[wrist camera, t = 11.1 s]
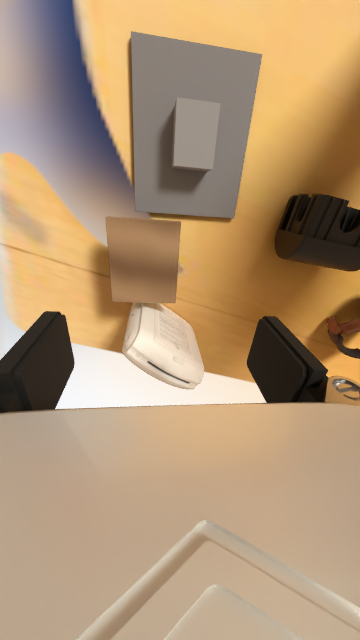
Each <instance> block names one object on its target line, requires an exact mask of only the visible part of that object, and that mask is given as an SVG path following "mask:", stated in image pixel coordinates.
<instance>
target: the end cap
mask: <svg viewBox="0 0 360 640" xmlns="http://www.w3.org/2000/svg"><path fill="white" fill-rule="evenodd" d="M308 196H309V195H307V194H299V195H293V196H292V197H291V198H290V199H289V201H288V204H287V207H286V209H285V212H284V215H283V217H282V220H281V223H280V225H279V228H278V230H277V233H276V237H275V251H276V254H277V255H278V256H279V257H280V258H282V259H287V260H292V261H297V262H302V263H307V264H312V265H318V266H323V267H328V268H333V269H338V270H343V271H357V270H360V210H357V209H354V208H350V207H347V205H348V203H349V201H347V200H344V199H340V198H336V197H333V196H329V195H323V194H313V195H312V197H308Z"/></svg>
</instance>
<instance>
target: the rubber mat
mask: <svg viewBox="0 0 360 640" xmlns="http://www.w3.org/2000/svg"><path fill="white" fill-rule="evenodd" d="M131 54H132V96H133V139H134V181H135V211H137V212H152V213H166V214H180V215H194V216H208V217H223V218H234V216H235V210H236V204H237V198H238V192H239V186H240V181H241V175H242V169H243V163H244V157H245V151H246V146H247V140H248V134H249V128H250V122H251V116H252V111H253V105H254V99H255V93H256V87H257V81H258V76H259V70H260V64H261V58H262V54H257V53H251V52H246V51H240V50H234V49H228V48H223V47H217V46H211V45H206V44H200V43H194V42H189V41H183V40H177V39H171V38H166V37H160V36H154V35H149V34H143V33H137V32H131Z"/></svg>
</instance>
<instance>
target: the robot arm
mask: <svg viewBox="0 0 360 640" xmlns="http://www.w3.org/2000/svg"><path fill="white" fill-rule="evenodd" d="M247 366H248V368H249V370H250V372H251V374H252V376H253V378H254V380H255V382H256V384H257V385H258V387H259V389H260V391H261V393H262V395H263V397H264V399H265V400H266V402H267V403H248V404H247V403H245V404H205V405H173V406H172V405H171V406H141V407H140V406H137V407H109V408H82V409H81V408H79V409H55V408H56V406H57V403H58V401H59V399H60V397H61V395H62V392H63V390H64V388H65V386H66V383H67V381H68V379H69V377H70V375H71V373H72V371H73V368H74V357H73V352H72V347H71V342H70V337H69V332H68V327H67V322H66V317H65V315H61V313H60V312H51V311H45V312H44V313H43V314H42V315H41V316H40V317H39V318H38V320H37V321H36V322H35V323H34V324H33V325H32V326H31V327H30V328H29V329H28V330H27V332H26V333H25V334H24V335H23V336H22V337H21V338H20V339H19V340H18V342H17V343H16V344H15V345H14V346H13V347H12V348H11V349H10V350H9V351H8V352H7V354H6V355H5V356H4V357H3V358H2V359H1V360H0V640H360V384H359V383H357V382H355V381H353V380H351V379H349V378H346V377H342V376H332V377H330V378H328V377H327V376H326V373H327V372H328V370H327V369H326V368H325V366H324V365H323V364H322V363H321V362H320V361H319V360H318V359H317V358H316V357H315V356H314V355H313V354H312V353H311V352H310V351H309V350H308V349H307V348H306V347H305V346H304V345H303V344H302V343H301V342H300V341H299V340H298V339H297V338H296V337H295V336H294V335H293V334H292V333H291V332H290V330H289V329H288V328H287V327H286V326H285V325H284V324H283V323H282V322H281V321H280V320H279V319H278V318H277V317H271V316H264V317H263V318H262V319H260V320H259V322H258V325H257V328H256V332H255V335H254V339H253V342H252V345H251V349H250V352H249V356H248V359H247Z"/></svg>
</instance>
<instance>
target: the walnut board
mask: <svg viewBox="0 0 360 640" xmlns="http://www.w3.org/2000/svg"><path fill="white" fill-rule="evenodd" d="M180 228H181V222H180V221H169V220H154V219H139V218H124V217H123V218H122V217H109V216H108V217H106V229H107V242H108V254H109V267H110V279H111V291H112V302H136V303H175V302H176V287H177V273H178V258H179V243H180Z"/></svg>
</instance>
